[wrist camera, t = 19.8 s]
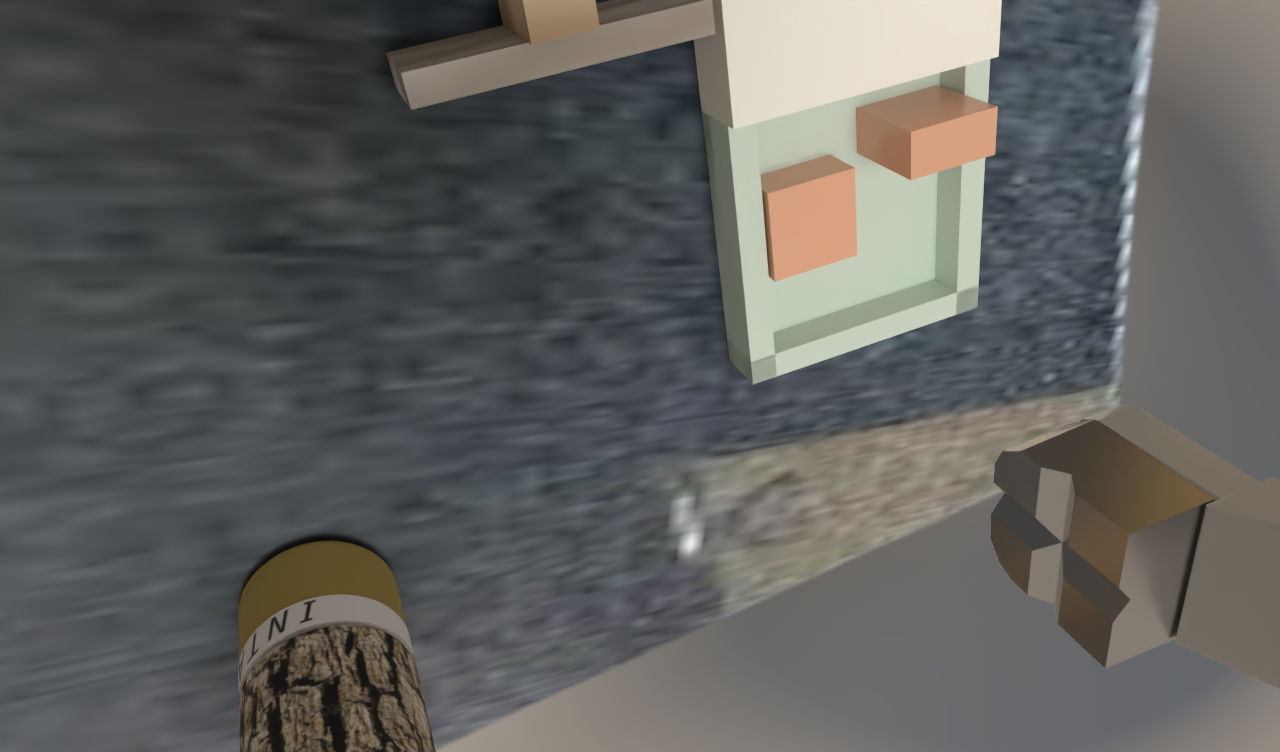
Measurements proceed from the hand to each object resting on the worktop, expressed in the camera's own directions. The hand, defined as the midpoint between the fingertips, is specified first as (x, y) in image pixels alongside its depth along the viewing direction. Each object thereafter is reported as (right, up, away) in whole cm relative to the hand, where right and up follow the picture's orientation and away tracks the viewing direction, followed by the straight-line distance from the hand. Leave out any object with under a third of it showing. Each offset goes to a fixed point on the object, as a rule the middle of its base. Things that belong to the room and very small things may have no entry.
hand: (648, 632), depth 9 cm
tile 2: (+12, +13, +30) cm, 35 cm away
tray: (+9, +10, +34) cm, 36 cm away
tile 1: (+7, +9, +30) cm, 33 cm away
